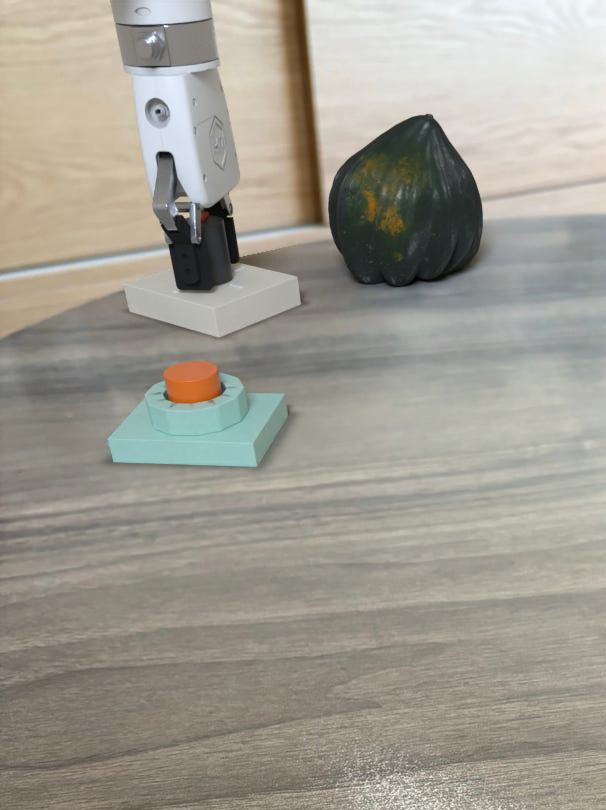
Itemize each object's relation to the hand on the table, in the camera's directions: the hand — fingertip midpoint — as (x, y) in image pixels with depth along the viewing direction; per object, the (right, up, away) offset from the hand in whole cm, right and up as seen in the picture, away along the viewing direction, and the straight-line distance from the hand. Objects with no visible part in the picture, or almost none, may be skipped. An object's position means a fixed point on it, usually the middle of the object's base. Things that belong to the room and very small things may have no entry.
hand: (209, 273), depth 92 cm
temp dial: (0, 0, 0) cm, 0 cm away
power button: (+5, -16, -22) cm, 28 cm away
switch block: (+5, -19, -20) cm, 28 cm away
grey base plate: (0, -3, +2) cm, 4 cm away
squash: (+17, +3, +10) cm, 20 cm away
